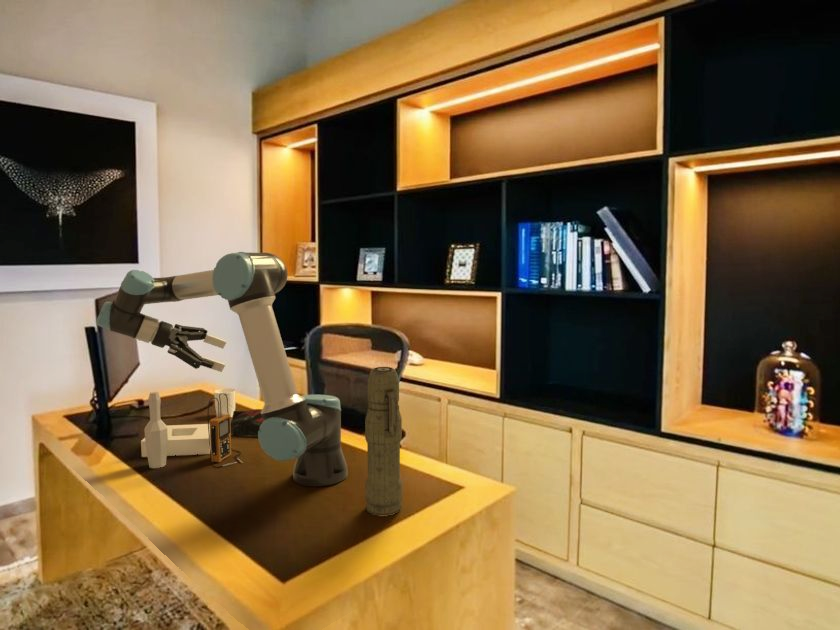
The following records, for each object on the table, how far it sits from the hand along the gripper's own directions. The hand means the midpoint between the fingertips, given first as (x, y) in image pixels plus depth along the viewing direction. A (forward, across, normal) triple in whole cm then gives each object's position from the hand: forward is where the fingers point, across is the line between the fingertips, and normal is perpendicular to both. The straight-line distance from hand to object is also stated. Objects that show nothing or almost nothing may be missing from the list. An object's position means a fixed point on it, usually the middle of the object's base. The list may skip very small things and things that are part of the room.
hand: (224, 356), depth 178 cm
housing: (+1, +5, -34) cm, 34 cm away
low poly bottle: (-6, +19, -31) cm, 37 cm away
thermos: (+38, +62, +10) cm, 74 cm away
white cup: (+18, -26, -40) cm, 51 cm away
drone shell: (+25, -5, -27) cm, 37 cm away
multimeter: (+13, +20, -22) cm, 32 cm away
